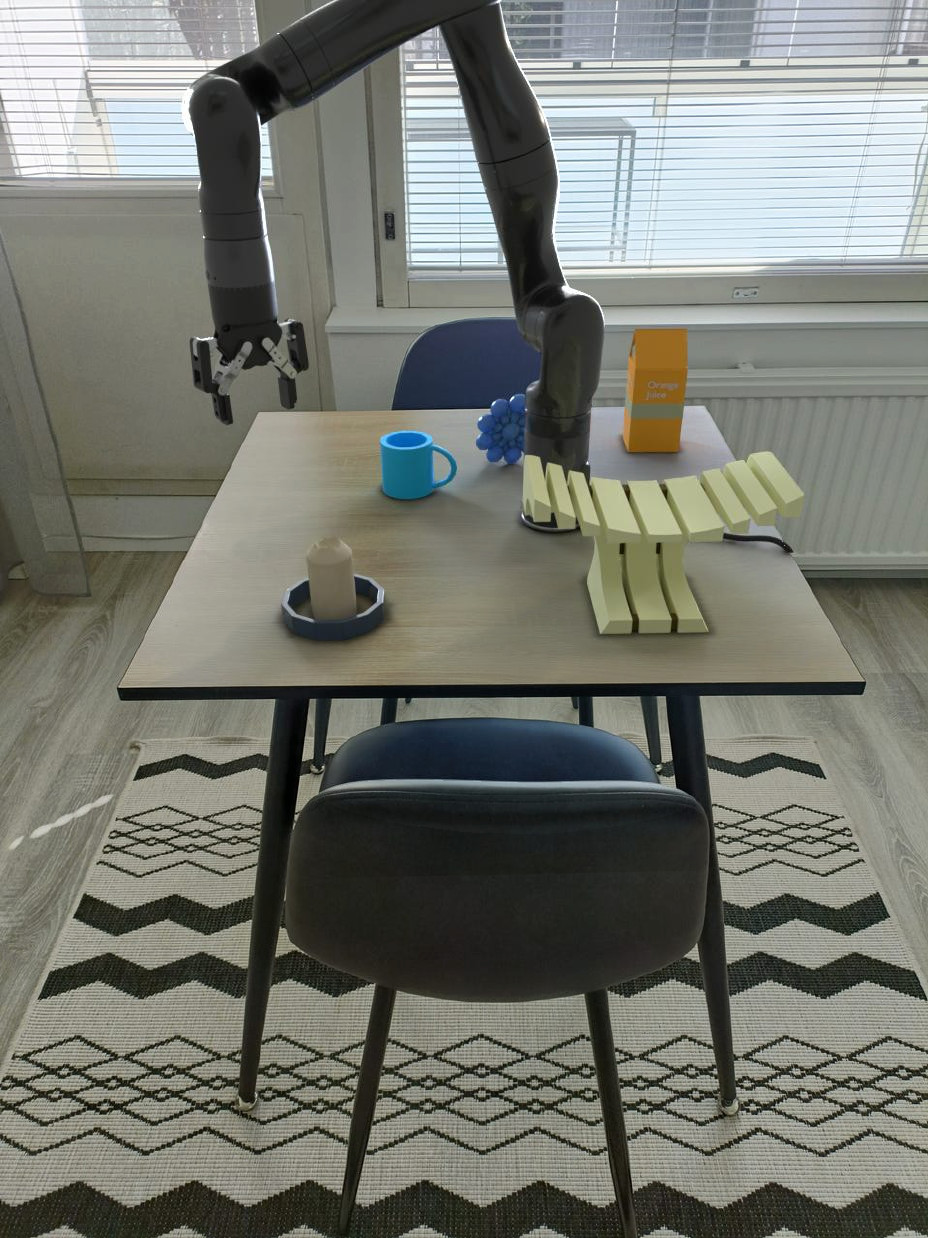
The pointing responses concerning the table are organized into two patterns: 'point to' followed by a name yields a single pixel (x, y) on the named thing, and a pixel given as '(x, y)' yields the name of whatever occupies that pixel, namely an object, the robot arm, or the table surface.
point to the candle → (331, 580)
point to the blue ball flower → (503, 430)
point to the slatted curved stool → (656, 531)
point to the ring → (334, 627)
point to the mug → (411, 464)
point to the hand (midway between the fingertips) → (258, 415)
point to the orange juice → (655, 390)
